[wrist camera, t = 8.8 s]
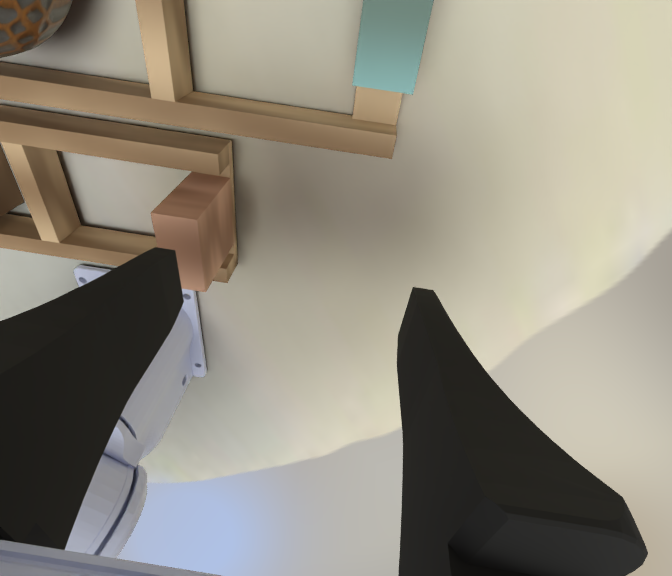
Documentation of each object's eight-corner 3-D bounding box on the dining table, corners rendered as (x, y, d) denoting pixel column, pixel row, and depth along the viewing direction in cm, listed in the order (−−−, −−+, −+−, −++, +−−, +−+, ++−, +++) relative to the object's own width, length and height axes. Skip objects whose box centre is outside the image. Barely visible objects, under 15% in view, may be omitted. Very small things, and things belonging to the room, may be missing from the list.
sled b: (237, 263, 24) (208, 318, 20) (-89, 212, 24) (-181, 257, 20) (231, 140, 19) (192, 181, 16) (-174, 78, 20) (-313, 103, 16)
